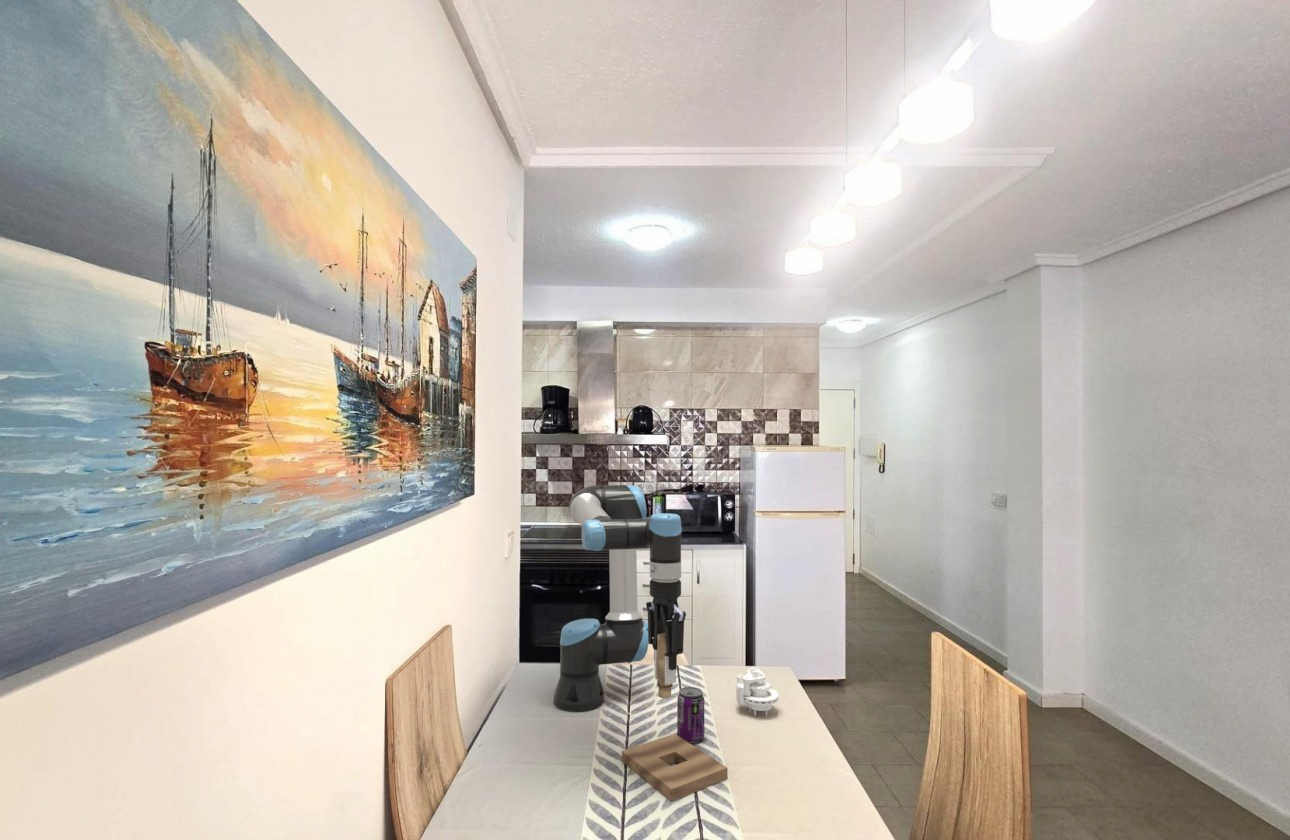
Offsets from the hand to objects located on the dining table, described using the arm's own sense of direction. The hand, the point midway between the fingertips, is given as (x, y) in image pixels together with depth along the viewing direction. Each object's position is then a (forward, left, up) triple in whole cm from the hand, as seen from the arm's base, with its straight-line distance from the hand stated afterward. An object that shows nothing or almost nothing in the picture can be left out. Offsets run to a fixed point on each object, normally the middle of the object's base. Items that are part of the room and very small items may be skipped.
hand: (665, 679), depth 139 cm
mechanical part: (-12, +42, -21) cm, 48 cm away
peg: (0, 0, -4) cm, 4 cm away
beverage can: (-10, +15, -21) cm, 28 cm away
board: (+1, +2, -21) cm, 21 cm away
